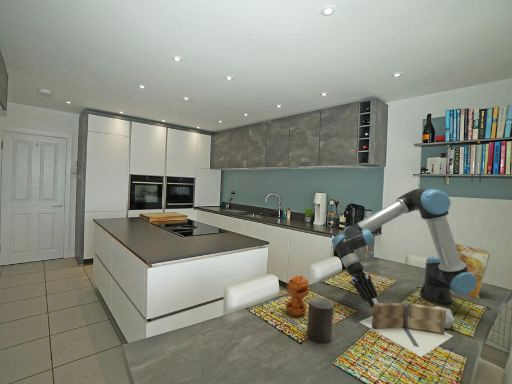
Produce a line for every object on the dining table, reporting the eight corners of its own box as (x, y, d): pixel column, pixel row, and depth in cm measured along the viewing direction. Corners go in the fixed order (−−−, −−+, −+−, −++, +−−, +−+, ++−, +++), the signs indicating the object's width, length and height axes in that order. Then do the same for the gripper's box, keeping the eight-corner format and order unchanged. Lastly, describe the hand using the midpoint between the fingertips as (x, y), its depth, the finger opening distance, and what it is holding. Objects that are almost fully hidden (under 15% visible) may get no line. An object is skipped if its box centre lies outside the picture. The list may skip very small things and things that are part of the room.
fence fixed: (402, 328, 112) (404, 304, 112) (401, 325, 114) (402, 302, 114) (445, 335, 109) (447, 310, 108) (442, 332, 111) (444, 308, 110)
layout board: (392, 309, 130) (392, 308, 130) (453, 337, 108) (453, 335, 108) (358, 322, 116) (358, 321, 116) (421, 358, 94) (421, 356, 94)
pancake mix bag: (450, 285, 167) (453, 242, 165) (485, 298, 149) (490, 250, 148) (443, 286, 164) (447, 243, 163) (479, 300, 147) (484, 251, 145)
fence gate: (399, 325, 114) (401, 303, 113) (403, 328, 112) (405, 305, 111) (370, 326, 112) (372, 303, 112) (373, 328, 110) (375, 305, 110)
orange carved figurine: (308, 320, 115) (311, 281, 114) (284, 316, 117) (286, 278, 116) (308, 308, 126) (310, 272, 125) (286, 305, 128) (288, 269, 127)
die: (454, 327, 117) (442, 304, 122) (463, 327, 110) (449, 302, 115) (435, 332, 118) (423, 308, 124) (442, 331, 111) (429, 307, 116)
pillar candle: (317, 345, 98) (320, 307, 97) (302, 331, 106) (304, 296, 106) (336, 339, 102) (339, 302, 102) (320, 326, 111) (322, 292, 110)
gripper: (356, 266, 133) (382, 313, 120) (338, 269, 126) (364, 320, 113) (366, 259, 128) (395, 308, 115) (348, 262, 121) (376, 314, 108)
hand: (380, 314), depth 114 cm, fingers closed
